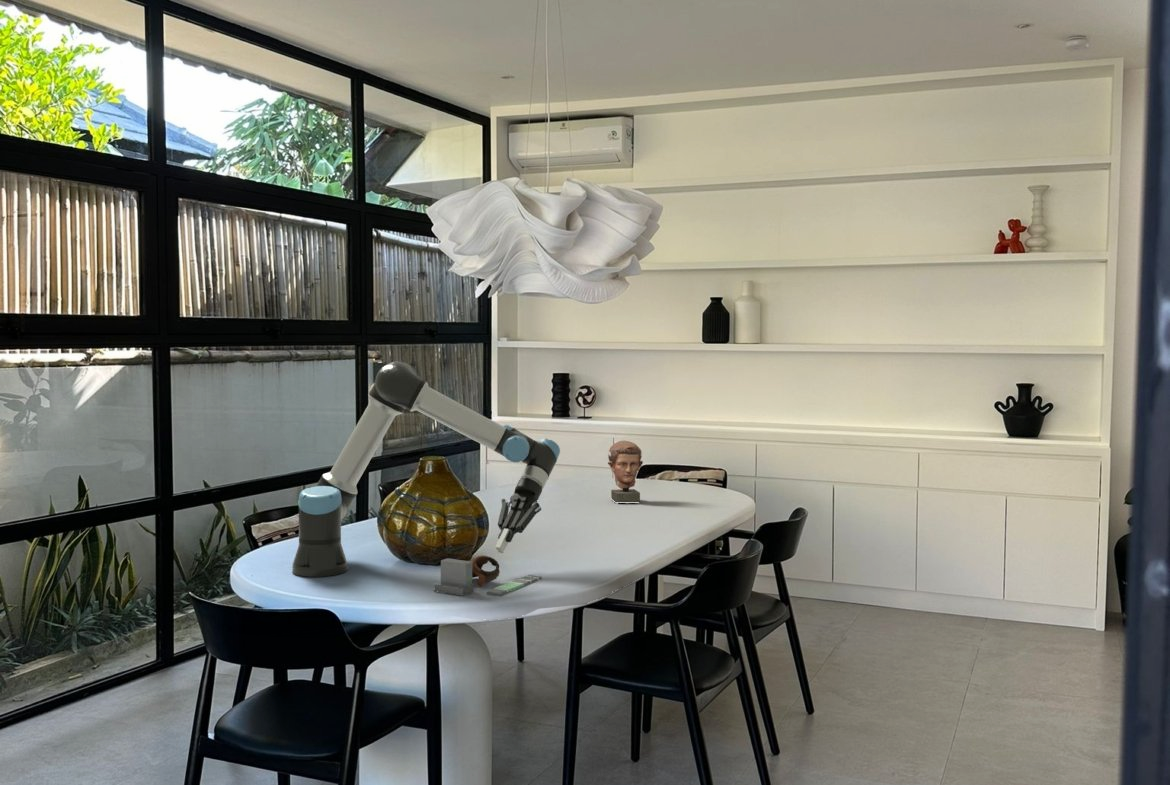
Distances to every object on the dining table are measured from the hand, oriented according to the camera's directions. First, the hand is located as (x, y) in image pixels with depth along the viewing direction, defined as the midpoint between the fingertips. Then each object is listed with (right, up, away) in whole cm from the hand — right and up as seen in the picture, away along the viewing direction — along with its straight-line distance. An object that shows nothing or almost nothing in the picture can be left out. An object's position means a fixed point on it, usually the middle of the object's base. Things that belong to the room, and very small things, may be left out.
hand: (499, 549), depth 288 cm
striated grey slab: (-10, -8, -18) cm, 22 cm away
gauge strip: (+5, -8, -12) cm, 15 cm away
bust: (+41, -1, +130) cm, 136 cm away
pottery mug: (-5, -8, -8) cm, 12 cm away
